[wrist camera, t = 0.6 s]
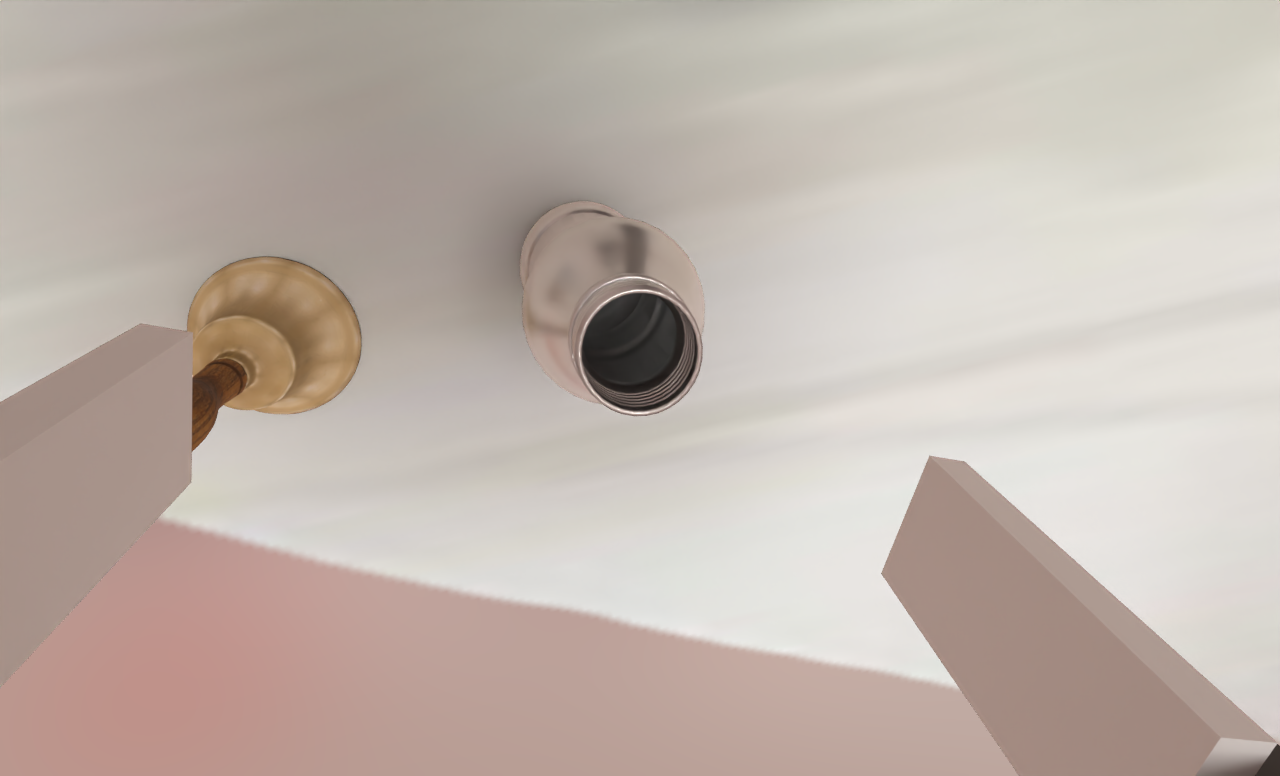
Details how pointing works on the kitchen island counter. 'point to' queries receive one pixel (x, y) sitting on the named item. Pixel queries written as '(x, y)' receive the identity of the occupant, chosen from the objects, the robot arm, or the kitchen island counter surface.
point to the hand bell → (269, 341)
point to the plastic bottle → (611, 308)
